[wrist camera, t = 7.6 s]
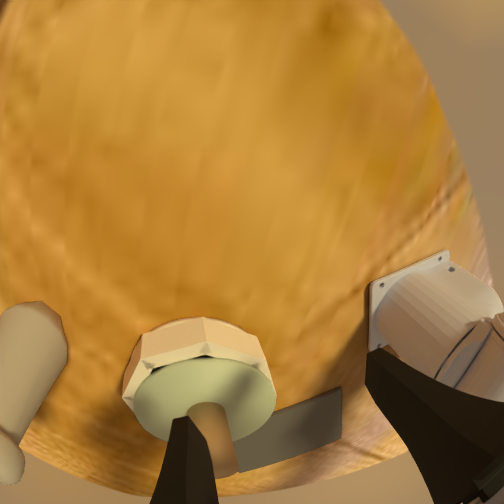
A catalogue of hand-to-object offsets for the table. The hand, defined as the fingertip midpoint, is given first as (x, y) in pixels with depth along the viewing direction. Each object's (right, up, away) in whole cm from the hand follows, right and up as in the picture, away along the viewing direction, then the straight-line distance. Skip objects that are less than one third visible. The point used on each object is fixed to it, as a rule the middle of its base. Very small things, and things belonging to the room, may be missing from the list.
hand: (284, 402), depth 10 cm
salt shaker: (-17, 0, +7) cm, 18 cm away
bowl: (-6, -4, +12) cm, 13 cm away
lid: (-5, -6, +9) cm, 12 cm away
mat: (+2, -15, +19) cm, 24 cm away
